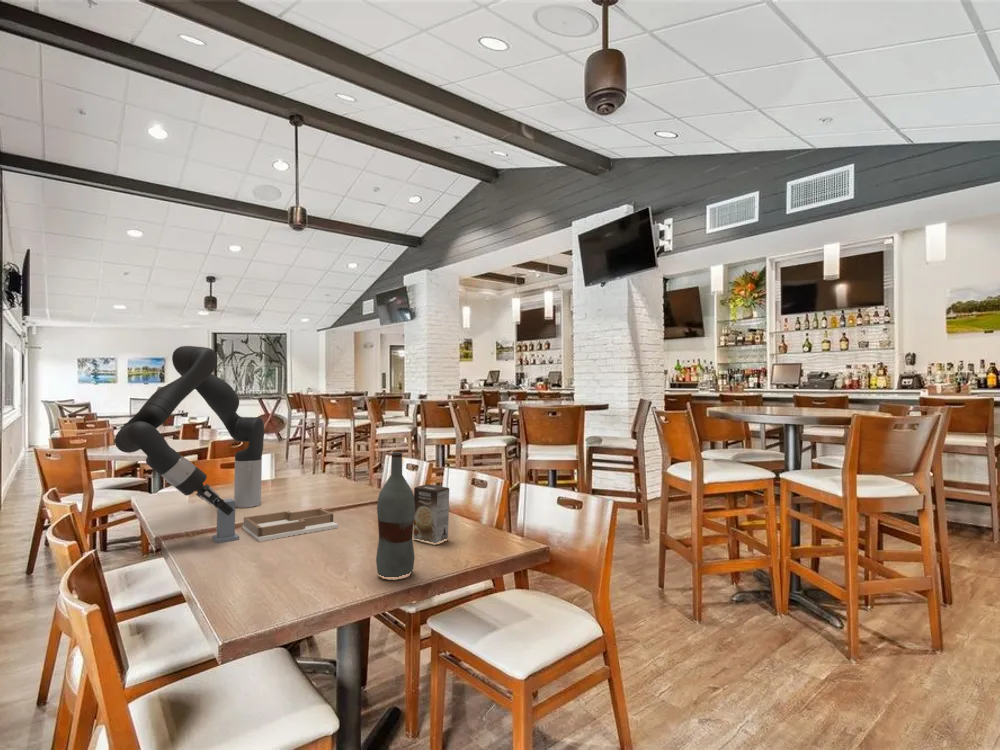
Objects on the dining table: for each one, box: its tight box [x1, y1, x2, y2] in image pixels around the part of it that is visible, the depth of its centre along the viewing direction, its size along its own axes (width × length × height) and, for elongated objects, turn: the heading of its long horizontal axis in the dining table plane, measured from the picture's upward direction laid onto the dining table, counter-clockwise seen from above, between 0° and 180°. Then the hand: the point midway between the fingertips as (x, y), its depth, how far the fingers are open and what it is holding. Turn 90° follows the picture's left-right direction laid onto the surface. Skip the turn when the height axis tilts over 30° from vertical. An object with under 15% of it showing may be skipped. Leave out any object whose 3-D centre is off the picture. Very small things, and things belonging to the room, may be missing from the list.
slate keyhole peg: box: [211, 498, 240, 544], centre depth 158 cm, size 6×6×12 cm
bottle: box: [375, 451, 416, 577], centre depth 131 cm, size 9×9×30 cm
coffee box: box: [412, 483, 450, 543], centre depth 159 cm, size 9×6×16 cm
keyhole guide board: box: [242, 507, 339, 543], centre depth 170 cm, size 18×24×4 cm
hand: (227, 509), depth 158 cm, fingers open, 8 cm apart
